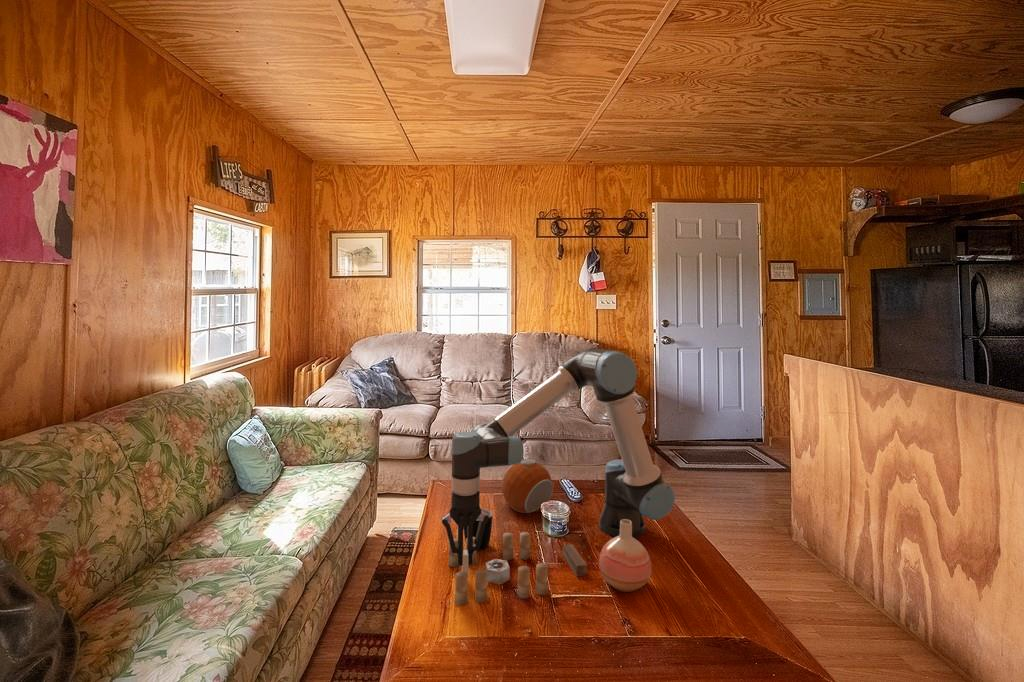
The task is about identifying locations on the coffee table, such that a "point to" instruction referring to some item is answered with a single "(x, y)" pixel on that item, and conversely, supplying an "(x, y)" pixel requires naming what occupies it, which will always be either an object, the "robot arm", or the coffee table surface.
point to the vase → (625, 560)
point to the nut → (497, 571)
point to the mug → (486, 532)
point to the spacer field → (507, 555)
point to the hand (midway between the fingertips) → (464, 575)
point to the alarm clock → (526, 486)
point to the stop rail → (574, 560)
